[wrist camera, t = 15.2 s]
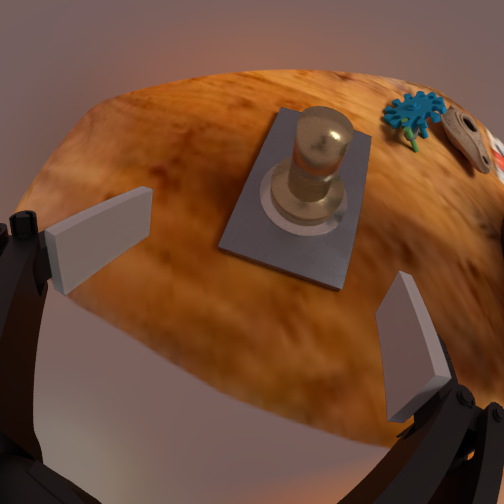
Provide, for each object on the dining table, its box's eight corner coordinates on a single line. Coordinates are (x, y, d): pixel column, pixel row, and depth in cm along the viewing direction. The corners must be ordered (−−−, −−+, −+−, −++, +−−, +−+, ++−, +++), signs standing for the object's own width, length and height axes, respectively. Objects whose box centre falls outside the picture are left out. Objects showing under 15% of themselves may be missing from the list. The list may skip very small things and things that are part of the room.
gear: (393, 89, 33) (447, 86, 24) (406, 118, 36) (458, 119, 28) (369, 128, 31) (435, 127, 23) (385, 159, 35) (446, 165, 26)
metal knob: (344, 179, 27) (375, 112, 18) (330, 236, 25) (368, 178, 16) (281, 158, 28) (291, 85, 18) (260, 212, 26) (263, 143, 16)
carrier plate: (368, 142, 31) (374, 130, 28) (338, 291, 25) (346, 286, 22) (280, 113, 32) (282, 100, 30) (219, 250, 26) (216, 241, 24)
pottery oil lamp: (464, 182, 29) (469, 141, 24) (430, 139, 36) (429, 103, 31) (502, 175, 26) (510, 137, 21) (466, 134, 34) (468, 101, 28)
